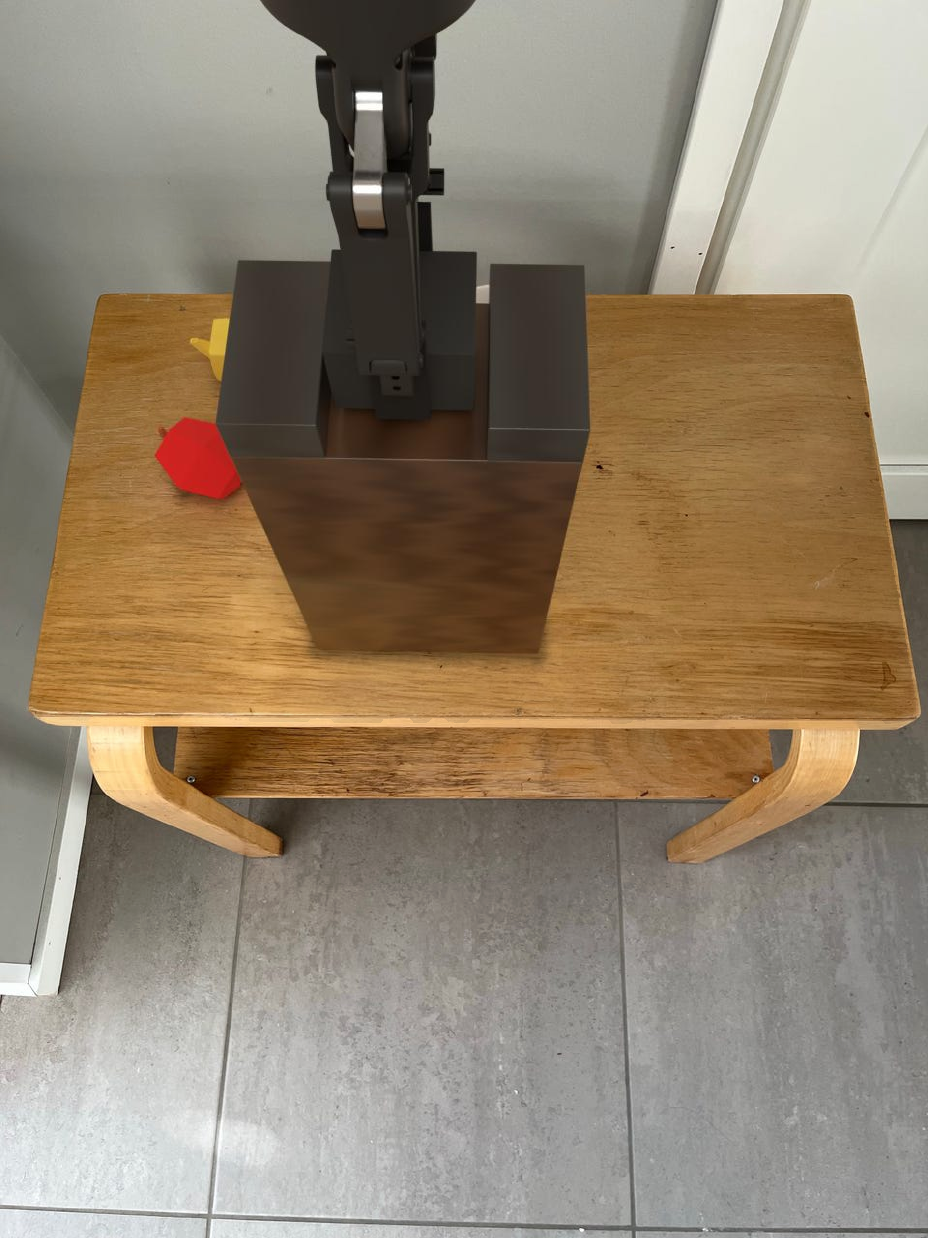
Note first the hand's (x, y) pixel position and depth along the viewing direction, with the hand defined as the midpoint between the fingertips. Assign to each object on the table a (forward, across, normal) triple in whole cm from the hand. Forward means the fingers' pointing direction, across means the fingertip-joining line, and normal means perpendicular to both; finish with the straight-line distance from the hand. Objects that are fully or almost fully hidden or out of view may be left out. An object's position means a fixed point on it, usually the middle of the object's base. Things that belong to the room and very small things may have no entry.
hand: (406, 356), depth 47 cm
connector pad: (0, 0, 0) cm, 0 cm away
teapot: (+32, -22, -18) cm, 42 cm away
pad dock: (+32, 0, 0) cm, 32 cm away
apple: (+32, -11, -20) cm, 39 cm away
